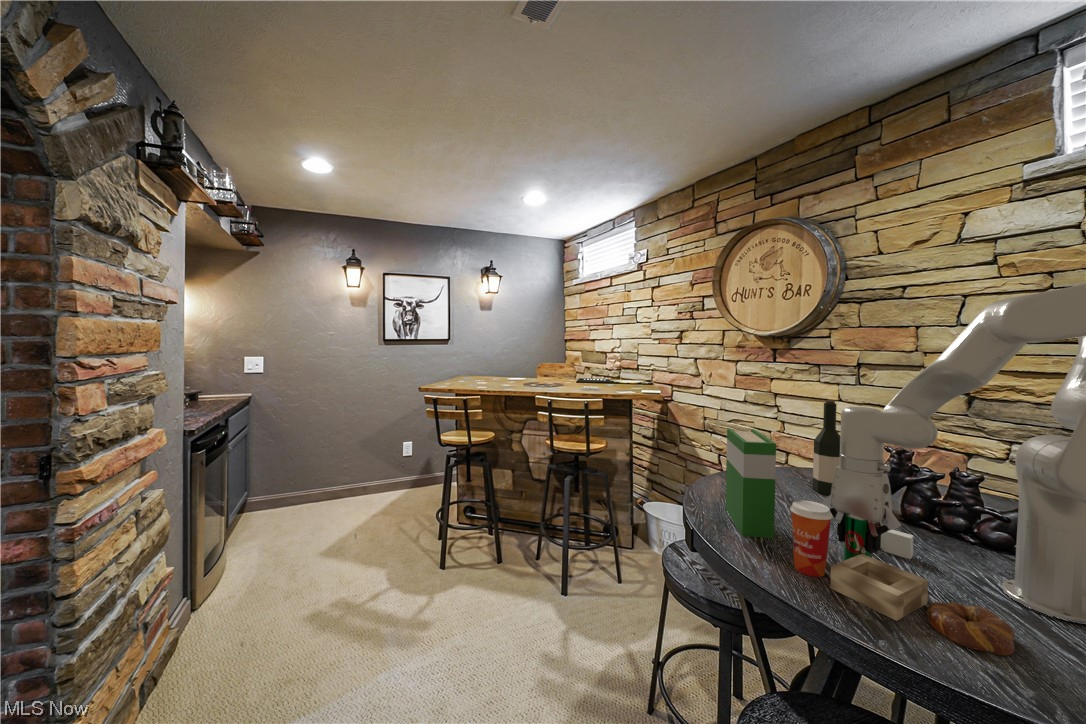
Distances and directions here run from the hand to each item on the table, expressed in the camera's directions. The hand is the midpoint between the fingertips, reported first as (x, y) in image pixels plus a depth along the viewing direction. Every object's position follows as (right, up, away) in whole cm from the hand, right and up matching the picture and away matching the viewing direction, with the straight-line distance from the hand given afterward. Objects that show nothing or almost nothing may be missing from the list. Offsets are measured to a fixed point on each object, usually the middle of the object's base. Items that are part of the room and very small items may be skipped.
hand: (857, 545), depth 92 cm
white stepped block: (+11, -5, +8) cm, 15 cm away
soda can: (0, -5, 0) cm, 5 cm away
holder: (-5, -5, -11) cm, 13 cm away
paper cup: (-12, -5, -2) cm, 13 cm away
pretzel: (+3, -6, -21) cm, 22 cm away
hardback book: (-13, -4, +22) cm, 26 cm away
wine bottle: (+24, -3, +46) cm, 52 cm away
